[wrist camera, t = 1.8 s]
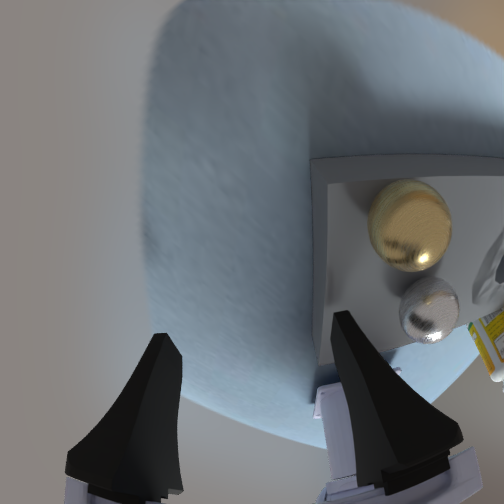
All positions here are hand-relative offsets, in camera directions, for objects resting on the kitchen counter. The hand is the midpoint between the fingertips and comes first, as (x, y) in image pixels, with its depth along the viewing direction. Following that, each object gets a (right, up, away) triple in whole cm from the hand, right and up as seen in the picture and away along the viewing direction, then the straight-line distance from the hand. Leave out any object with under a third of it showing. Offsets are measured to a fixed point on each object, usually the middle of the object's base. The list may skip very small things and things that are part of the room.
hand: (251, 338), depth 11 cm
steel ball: (+8, +1, -1) cm, 8 cm away
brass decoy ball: (+5, +5, -4) cm, 8 cm away
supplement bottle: (+23, -2, +8) cm, 24 cm away
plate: (+13, +4, +2) cm, 14 cm away
